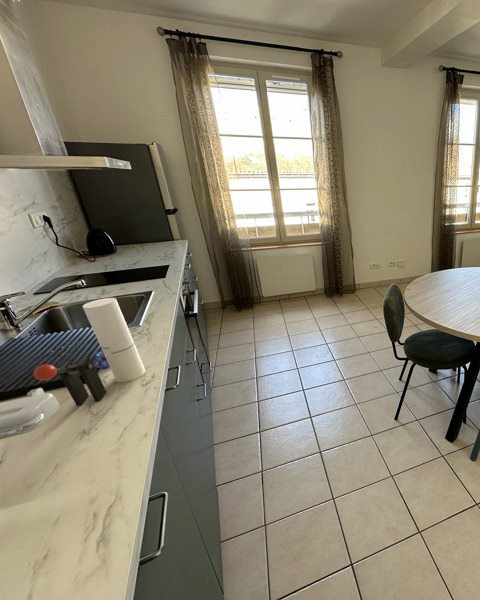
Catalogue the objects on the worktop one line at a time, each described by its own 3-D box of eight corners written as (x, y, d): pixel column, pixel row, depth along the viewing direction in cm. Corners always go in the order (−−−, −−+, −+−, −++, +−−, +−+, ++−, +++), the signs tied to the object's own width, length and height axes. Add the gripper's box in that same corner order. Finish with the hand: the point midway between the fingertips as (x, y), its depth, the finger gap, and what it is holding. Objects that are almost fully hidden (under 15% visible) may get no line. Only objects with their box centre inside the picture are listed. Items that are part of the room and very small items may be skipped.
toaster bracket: (104, 411, 86) (83, 371, 81) (61, 422, 83) (37, 380, 78) (122, 385, 96) (104, 348, 91) (84, 394, 93) (64, 355, 89)
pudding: (96, 361, 110) (90, 348, 108) (139, 352, 114) (133, 339, 112) (81, 381, 100) (74, 366, 98) (129, 369, 104) (123, 355, 102)
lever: (50, 378, 74) (48, 363, 74) (30, 383, 73) (27, 367, 73) (89, 373, 87) (87, 360, 87) (72, 377, 86) (70, 363, 86)
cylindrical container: (129, 372, 103) (97, 298, 93) (152, 370, 103) (122, 297, 93) (111, 386, 96) (75, 308, 87) (135, 384, 96) (101, 307, 87)
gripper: (22, 415, 55) (66, 371, 67) (-154, 455, 49) (-71, 399, 61) (40, 443, 57) (80, 396, 69) (-126, 485, 51) (-51, 425, 63)
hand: (8, 397), depth 65 cm, fingers open, 8 cm apart
